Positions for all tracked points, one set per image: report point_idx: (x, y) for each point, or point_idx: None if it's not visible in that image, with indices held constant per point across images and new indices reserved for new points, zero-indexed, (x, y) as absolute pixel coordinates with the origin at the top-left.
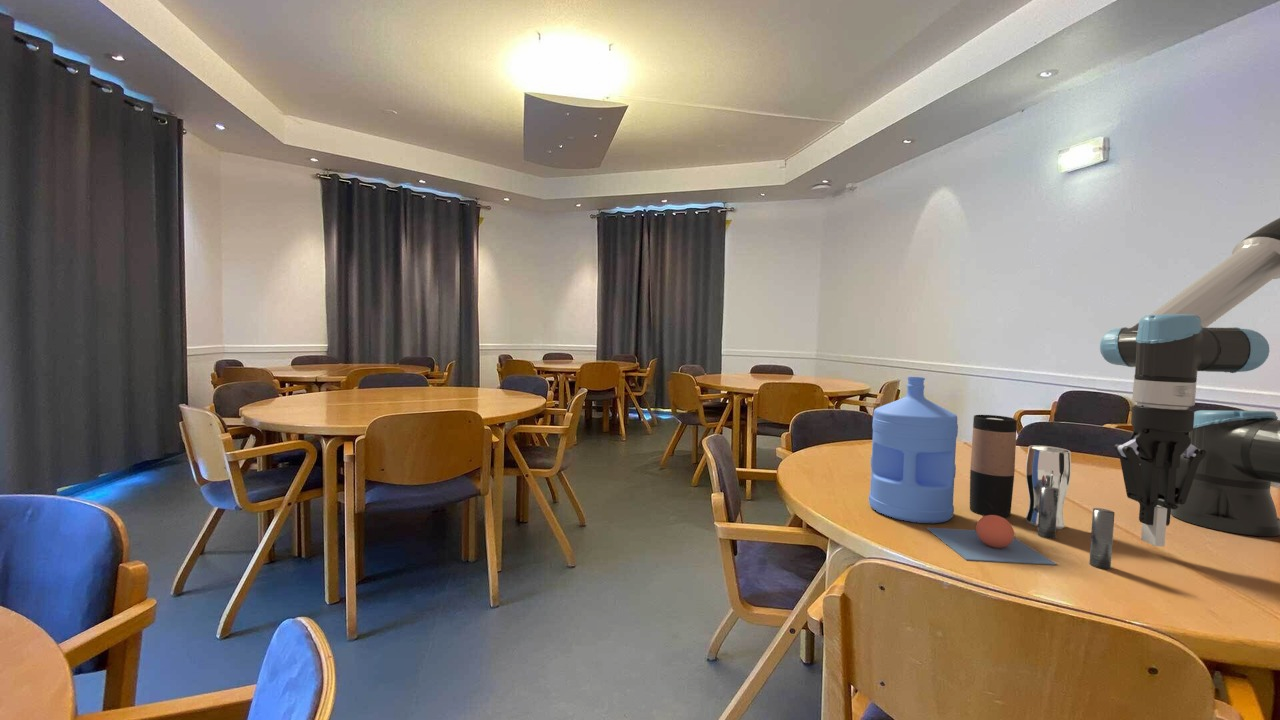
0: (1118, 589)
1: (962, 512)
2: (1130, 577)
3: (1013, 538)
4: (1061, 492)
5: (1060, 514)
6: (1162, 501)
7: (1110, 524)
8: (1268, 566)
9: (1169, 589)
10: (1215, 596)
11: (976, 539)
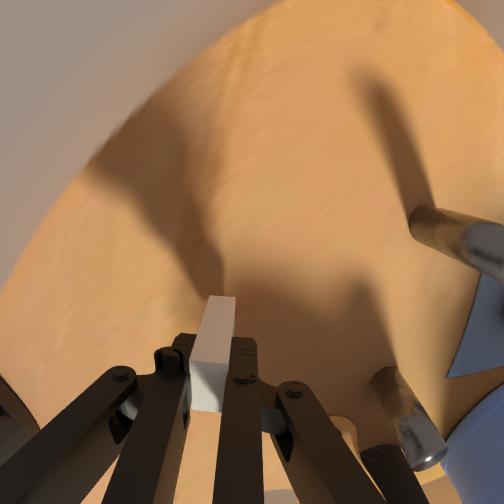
0: (468, 119)
1: None
2: (411, 163)
3: (463, 346)
4: None
5: None
6: (186, 393)
7: (497, 223)
8: (27, 246)
9: (379, 104)
10: (306, 69)
11: None
